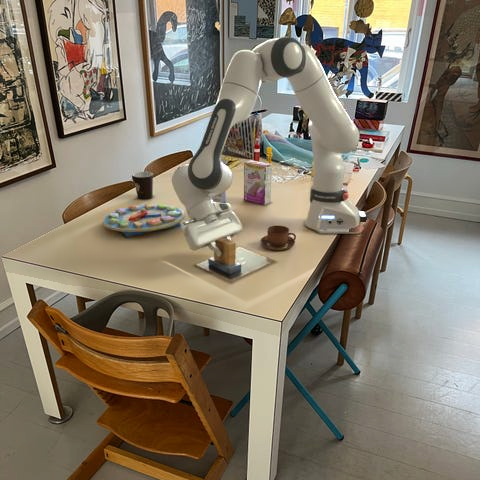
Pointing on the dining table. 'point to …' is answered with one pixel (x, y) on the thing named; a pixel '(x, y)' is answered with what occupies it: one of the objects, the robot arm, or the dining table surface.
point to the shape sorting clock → (143, 219)
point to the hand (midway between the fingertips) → (226, 253)
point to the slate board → (245, 258)
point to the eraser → (225, 257)
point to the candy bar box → (257, 182)
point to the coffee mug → (143, 184)
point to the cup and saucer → (278, 238)
